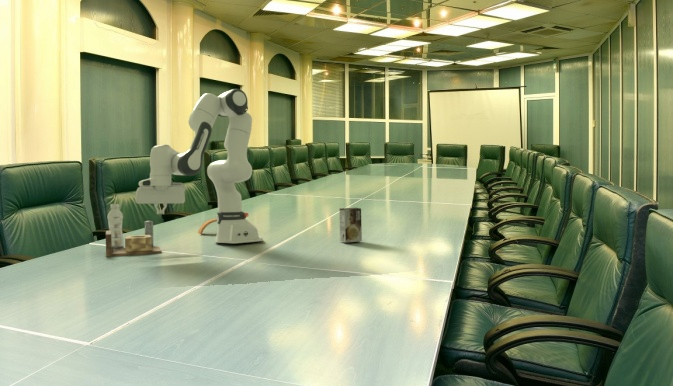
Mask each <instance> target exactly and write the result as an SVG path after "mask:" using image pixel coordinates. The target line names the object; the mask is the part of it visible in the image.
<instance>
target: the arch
mask: <svg viewBox="0 0 673 386" xmlns="http://www.w3.org/2000/svg"><path fill="white" fill-rule="evenodd" d="M214 222H215V223H216V222H217V218H212V219H211V218H210V219H208V220H206V221H205V222H204V223H202V225H201V226H199V229H198V231H197V234H198V233H199V234H202V235H203V232H204V230H205V229H206V227H208V226H209V225H210V224H213V223H214ZM199 234H198V235H199Z"/></svg>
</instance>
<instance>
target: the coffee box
mask: <svg viewBox="0 0 673 386" xmlns="http://www.w3.org/2000/svg"><path fill="white" fill-rule="evenodd" d="M362 232H363V231H362V208H361V207H344V208H341V207H340V208H339V242H341V241H342V242H343V243H345V244H346V243H354V242H362V240H363V239H362V238H363V237H362V235H363V234H362Z"/></svg>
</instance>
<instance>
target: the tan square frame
mask: <svg viewBox="0 0 673 386" xmlns="http://www.w3.org/2000/svg"><path fill="white" fill-rule="evenodd" d="M124 245H125V246H124V248H125V250H126V252H132V251H147V250H152V244H151V236H150V235H145V234H141V235H139V234H138V235H137V234H136V235H125V236H124Z"/></svg>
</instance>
